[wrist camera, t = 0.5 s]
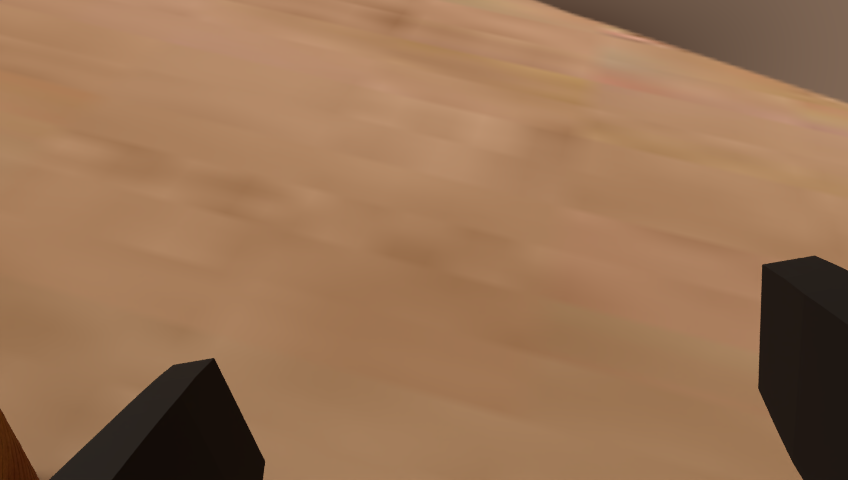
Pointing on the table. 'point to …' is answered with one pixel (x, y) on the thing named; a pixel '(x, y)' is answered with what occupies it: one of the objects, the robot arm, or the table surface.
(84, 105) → the table surface
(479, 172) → the table surface
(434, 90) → the table surface
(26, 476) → the disposable coffee cup
